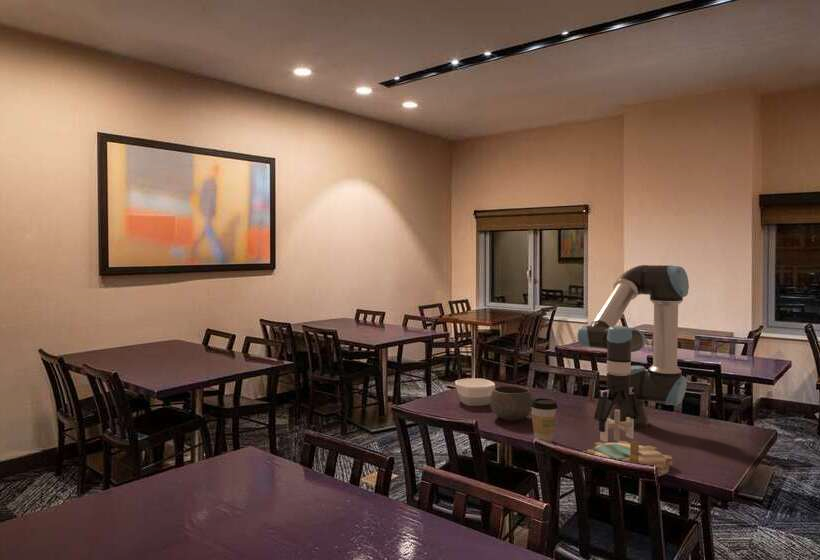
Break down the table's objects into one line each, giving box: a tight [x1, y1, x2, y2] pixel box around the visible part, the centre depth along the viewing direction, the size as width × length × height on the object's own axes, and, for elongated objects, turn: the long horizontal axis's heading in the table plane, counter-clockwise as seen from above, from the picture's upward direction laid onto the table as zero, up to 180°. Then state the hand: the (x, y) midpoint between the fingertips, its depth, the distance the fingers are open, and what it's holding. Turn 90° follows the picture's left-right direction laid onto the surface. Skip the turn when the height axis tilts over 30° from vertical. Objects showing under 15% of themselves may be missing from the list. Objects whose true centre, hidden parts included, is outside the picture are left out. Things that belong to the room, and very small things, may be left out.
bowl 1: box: [454, 377, 496, 407], centre depth 259 cm, size 18×18×9 cm
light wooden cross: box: [606, 410, 632, 442], centre depth 187 cm, size 10×10×10 cm
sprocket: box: [587, 440, 673, 474], centre depth 184 cm, size 26×26×9 cm
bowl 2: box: [489, 385, 534, 422], centre depth 234 cm, size 18×18×13 cm
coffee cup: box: [530, 397, 559, 442], centre depth 206 cm, size 10×10×15 cm
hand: (616, 439), depth 187 cm, fingers closed on light wooden cross, 10 cm apart
